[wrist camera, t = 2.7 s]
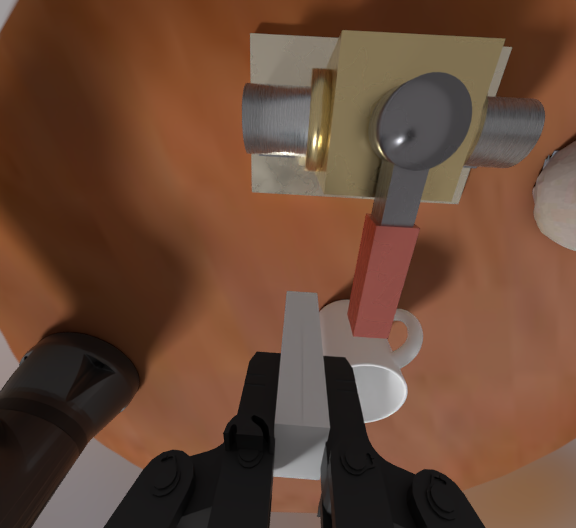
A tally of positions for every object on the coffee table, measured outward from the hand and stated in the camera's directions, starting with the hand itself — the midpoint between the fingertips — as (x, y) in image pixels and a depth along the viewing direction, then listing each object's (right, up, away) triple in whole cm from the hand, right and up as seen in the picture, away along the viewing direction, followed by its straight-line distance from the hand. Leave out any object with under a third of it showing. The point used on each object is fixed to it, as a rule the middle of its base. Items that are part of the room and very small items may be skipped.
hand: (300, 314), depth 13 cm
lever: (+6, +5, +4) cm, 8 cm away
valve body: (+6, +15, +10) cm, 19 cm away
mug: (+8, -4, +20) cm, 22 cm away
